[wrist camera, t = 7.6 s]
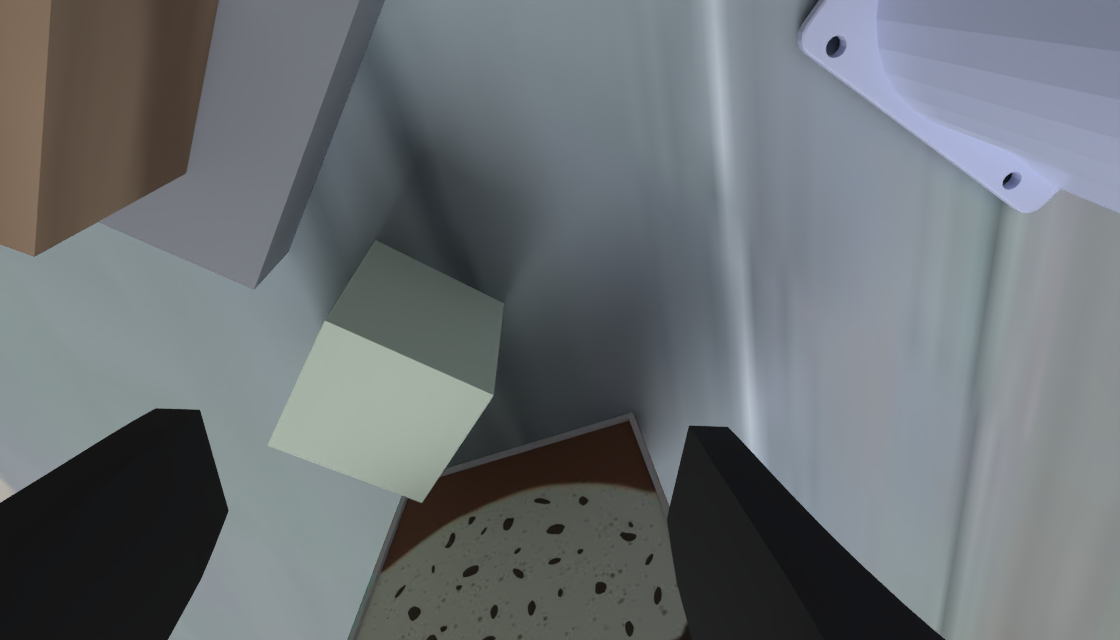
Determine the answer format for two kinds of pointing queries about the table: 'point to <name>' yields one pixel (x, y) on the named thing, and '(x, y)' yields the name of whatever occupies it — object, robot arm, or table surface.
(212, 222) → the base block
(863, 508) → the table surface
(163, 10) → the walnut block
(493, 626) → the food container
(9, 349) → the table surface
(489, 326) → the sage block
